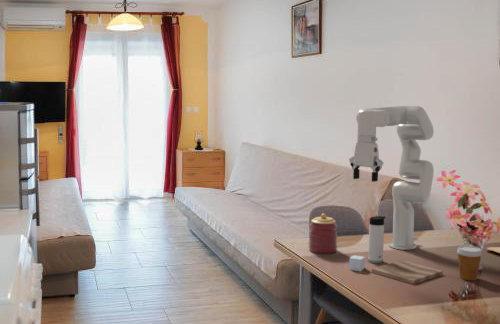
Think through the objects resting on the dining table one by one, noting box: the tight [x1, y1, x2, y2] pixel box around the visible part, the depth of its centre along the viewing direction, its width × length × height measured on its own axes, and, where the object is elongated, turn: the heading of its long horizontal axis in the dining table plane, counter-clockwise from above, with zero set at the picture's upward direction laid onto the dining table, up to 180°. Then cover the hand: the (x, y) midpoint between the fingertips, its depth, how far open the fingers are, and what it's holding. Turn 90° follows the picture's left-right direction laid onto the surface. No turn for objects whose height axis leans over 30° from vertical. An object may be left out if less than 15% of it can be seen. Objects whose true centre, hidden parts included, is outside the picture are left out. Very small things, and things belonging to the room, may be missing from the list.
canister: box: [308, 213, 338, 255], centre depth 276 cm, size 13×13×18 cm
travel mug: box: [367, 215, 386, 264], centre depth 258 cm, size 6×7×20 cm
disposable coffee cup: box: [456, 245, 483, 281], centre depth 236 cm, size 10×10×12 cm
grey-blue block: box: [348, 255, 366, 272], centre depth 248 cm, size 5×5×5 cm
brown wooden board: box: [371, 259, 444, 285], centre depth 242 cm, size 20×20×2 cm
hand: (365, 180), depth 251 cm, fingers open, 9 cm apart
